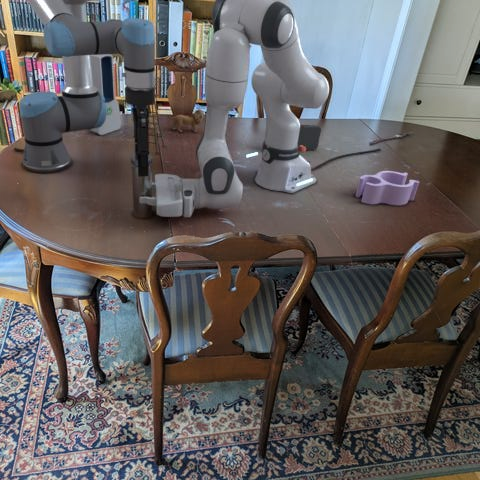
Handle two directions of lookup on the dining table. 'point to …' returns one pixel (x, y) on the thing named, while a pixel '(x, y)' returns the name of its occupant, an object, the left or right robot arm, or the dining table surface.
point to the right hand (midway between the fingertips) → (139, 193)
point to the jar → (141, 192)
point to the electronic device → (106, 91)
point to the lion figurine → (189, 120)
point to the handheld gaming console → (309, 136)
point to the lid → (135, 159)
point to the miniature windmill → (154, 120)
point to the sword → (389, 138)
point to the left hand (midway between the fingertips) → (141, 170)
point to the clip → (386, 188)
